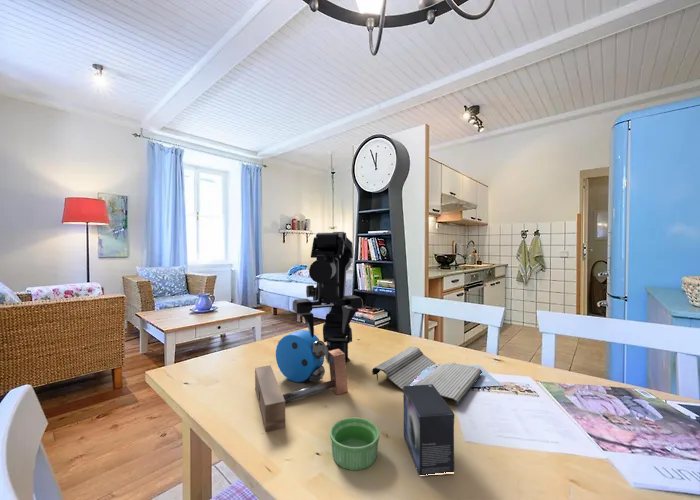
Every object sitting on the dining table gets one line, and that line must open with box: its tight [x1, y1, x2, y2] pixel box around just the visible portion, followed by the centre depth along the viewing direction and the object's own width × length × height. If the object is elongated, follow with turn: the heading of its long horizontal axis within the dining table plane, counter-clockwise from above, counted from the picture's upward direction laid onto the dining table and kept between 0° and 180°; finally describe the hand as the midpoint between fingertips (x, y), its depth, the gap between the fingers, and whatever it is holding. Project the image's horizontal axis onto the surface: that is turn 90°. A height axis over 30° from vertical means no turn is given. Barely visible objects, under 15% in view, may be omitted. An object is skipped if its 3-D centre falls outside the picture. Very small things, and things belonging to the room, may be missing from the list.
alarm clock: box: [275, 329, 327, 383], centre depth 85 cm, size 13×6×15 cm
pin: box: [282, 349, 349, 403], centre depth 76 cm, size 16×4×10 cm, turn 115°
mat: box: [371, 346, 483, 405], centre depth 86 cm, size 23×24×5 cm
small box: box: [402, 384, 455, 476], centre depth 55 cm, size 11×6×10 cm, turn 5°
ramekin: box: [329, 416, 380, 471], centre depth 55 cm, size 9×9×4 cm
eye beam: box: [254, 365, 286, 433], centre depth 71 cm, size 4×20×6 cm, turn 23°
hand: (328, 335), depth 83 cm, fingers open, 9 cm apart
